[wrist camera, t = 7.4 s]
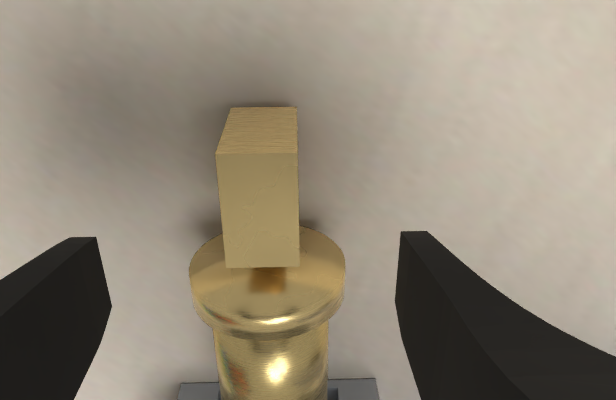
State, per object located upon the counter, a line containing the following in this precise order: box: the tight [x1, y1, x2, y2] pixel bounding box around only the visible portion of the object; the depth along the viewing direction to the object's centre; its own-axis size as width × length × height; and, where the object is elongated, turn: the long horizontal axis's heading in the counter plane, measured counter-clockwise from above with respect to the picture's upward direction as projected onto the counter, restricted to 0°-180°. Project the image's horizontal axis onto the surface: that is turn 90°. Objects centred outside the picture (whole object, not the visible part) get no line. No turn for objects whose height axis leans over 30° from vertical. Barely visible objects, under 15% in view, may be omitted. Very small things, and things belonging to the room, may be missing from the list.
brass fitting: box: [189, 107, 345, 400], centre depth 20 cm, size 14×6×6 cm, turn 1°
